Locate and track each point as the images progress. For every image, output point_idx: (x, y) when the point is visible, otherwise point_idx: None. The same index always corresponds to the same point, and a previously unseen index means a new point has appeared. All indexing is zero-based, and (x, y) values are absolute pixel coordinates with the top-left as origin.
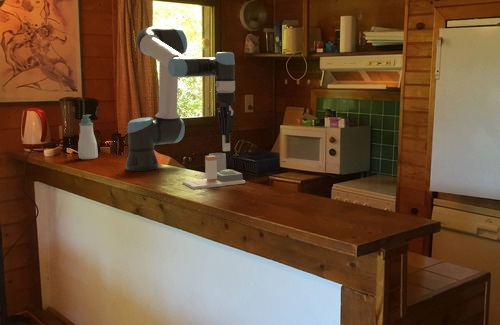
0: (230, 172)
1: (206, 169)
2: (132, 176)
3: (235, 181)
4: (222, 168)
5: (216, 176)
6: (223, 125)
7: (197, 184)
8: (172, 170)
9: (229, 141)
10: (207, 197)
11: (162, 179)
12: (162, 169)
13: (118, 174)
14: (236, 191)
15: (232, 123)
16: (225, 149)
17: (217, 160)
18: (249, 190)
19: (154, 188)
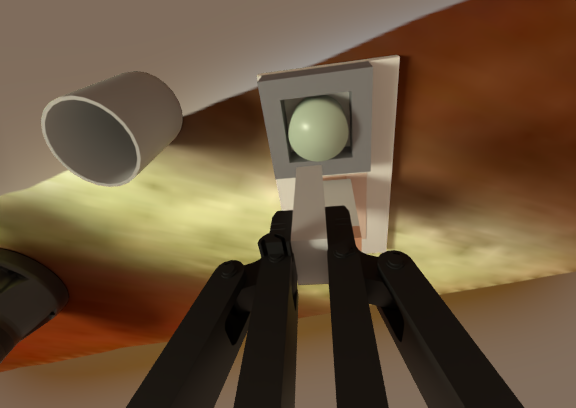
0: (347, 127)
1: None
2: (143, 313)
3: (387, 106)
4: (164, 106)
5: (351, 185)
6: (293, 360)
7: (364, 237)
8: (49, 226)
9: (349, 214)
10: (521, 244)
11: (202, 275)
12: (31, 245)
13: (111, 328)
14: (520, 145)
15: (487, 374)
16: (324, 200)
17: (153, 146)
18: (550, 91)
19: (317, 308)
